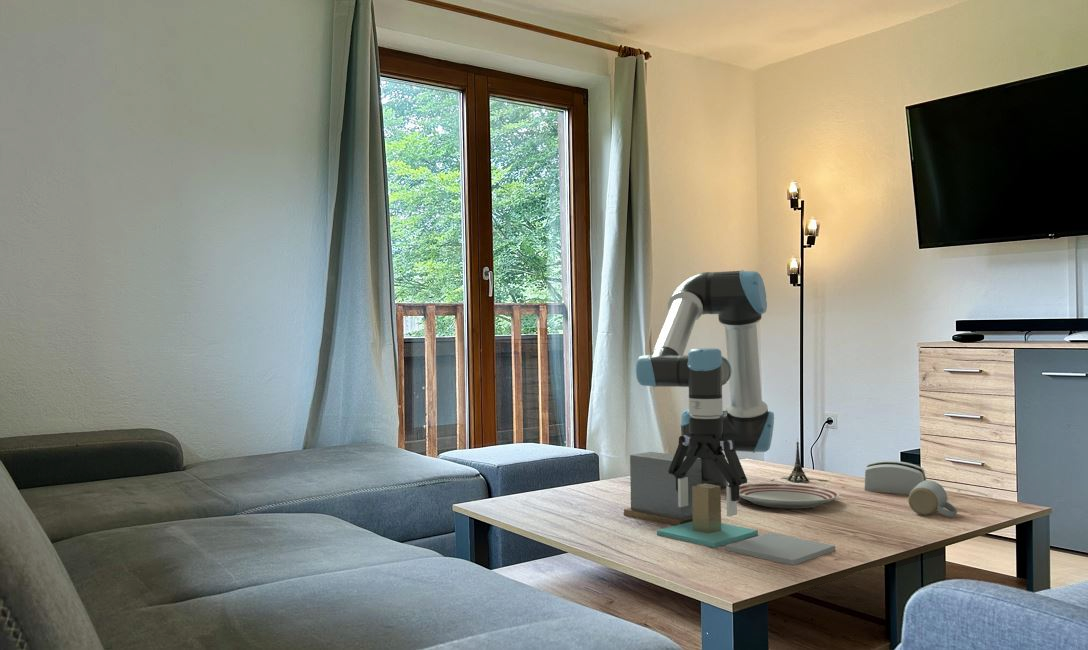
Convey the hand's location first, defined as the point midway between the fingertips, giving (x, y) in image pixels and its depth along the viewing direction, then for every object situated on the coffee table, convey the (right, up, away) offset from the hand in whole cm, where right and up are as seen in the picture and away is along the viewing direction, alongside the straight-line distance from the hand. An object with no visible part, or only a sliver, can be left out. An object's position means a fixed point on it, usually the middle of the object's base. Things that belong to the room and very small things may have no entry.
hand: (706, 510), depth 195 cm
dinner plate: (+28, -6, +35) cm, 45 cm away
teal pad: (0, -5, 0) cm, 5 cm away
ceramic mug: (+59, -5, +18) cm, 62 cm away
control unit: (-7, -6, +18) cm, 20 cm away
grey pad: (+13, -5, -14) cm, 20 cm away
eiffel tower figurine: (+40, -6, +65) cm, 77 cm away
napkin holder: (+61, -5, +46) cm, 77 cm away
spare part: (0, -4, 0) cm, 4 cm away
